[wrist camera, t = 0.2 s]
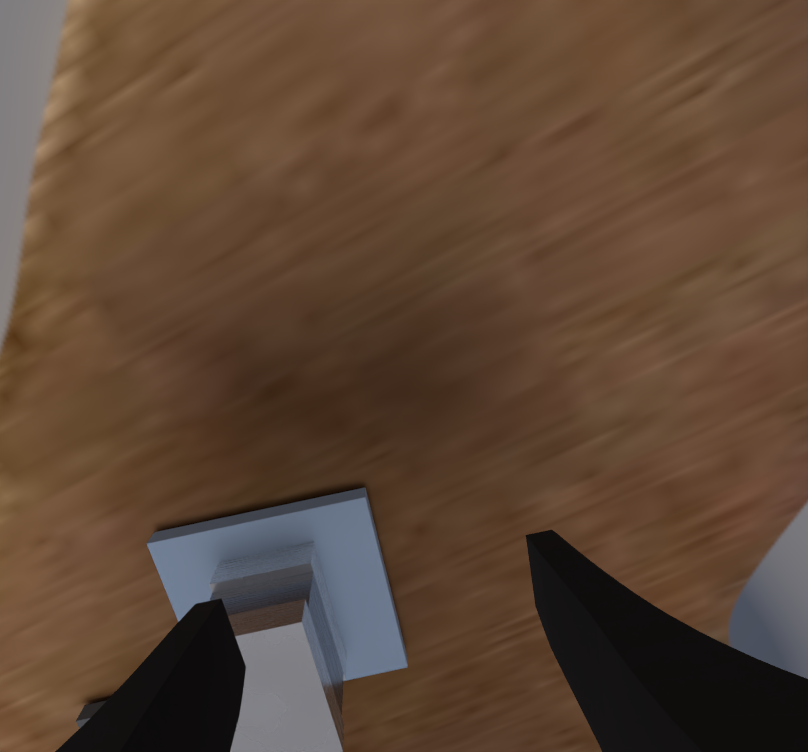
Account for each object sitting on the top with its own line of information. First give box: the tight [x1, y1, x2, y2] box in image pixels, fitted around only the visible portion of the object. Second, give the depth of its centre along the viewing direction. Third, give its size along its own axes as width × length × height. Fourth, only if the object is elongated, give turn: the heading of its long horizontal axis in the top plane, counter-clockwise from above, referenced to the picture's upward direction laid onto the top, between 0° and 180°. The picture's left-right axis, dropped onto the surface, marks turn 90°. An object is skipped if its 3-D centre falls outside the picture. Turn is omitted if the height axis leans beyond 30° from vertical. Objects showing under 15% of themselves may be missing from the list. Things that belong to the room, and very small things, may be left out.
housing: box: [209, 541, 347, 752], centre depth 20 cm, size 6×4×4 cm, turn 11°
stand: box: [147, 488, 408, 681], centre depth 23 cm, size 9×9×1 cm
